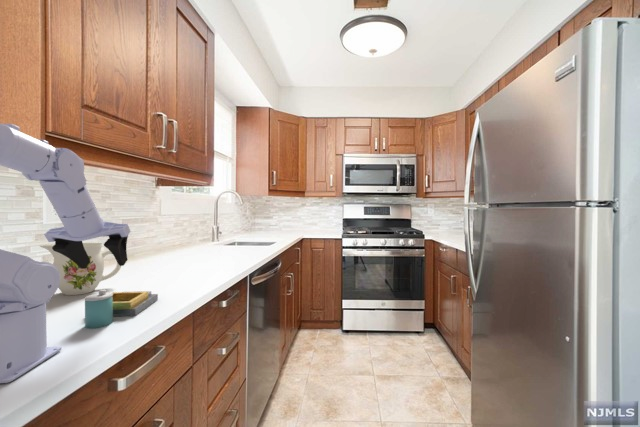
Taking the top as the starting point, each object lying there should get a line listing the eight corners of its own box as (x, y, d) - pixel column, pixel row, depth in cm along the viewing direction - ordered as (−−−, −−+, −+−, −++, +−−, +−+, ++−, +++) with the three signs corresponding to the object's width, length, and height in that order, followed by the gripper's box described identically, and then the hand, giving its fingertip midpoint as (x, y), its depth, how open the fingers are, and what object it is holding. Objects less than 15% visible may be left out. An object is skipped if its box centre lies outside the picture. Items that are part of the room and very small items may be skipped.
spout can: (104, 328, 57) (103, 295, 57) (79, 329, 57) (78, 295, 57) (117, 319, 62) (117, 288, 62) (94, 320, 62) (94, 289, 61)
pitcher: (126, 288, 85) (125, 241, 85) (41, 302, 72) (40, 247, 72) (117, 281, 93) (117, 238, 92) (39, 293, 80) (38, 243, 79)
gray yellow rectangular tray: (135, 315, 64) (135, 302, 64) (86, 317, 63) (86, 303, 63) (160, 297, 76) (160, 286, 76) (119, 299, 75) (119, 287, 75)
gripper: (126, 197, 59) (147, 249, 66) (49, 201, 58) (79, 254, 65) (109, 215, 53) (134, 271, 60) (23, 221, 52) (59, 277, 59)
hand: (105, 264), depth 62 cm, fingers open, 7 cm apart
